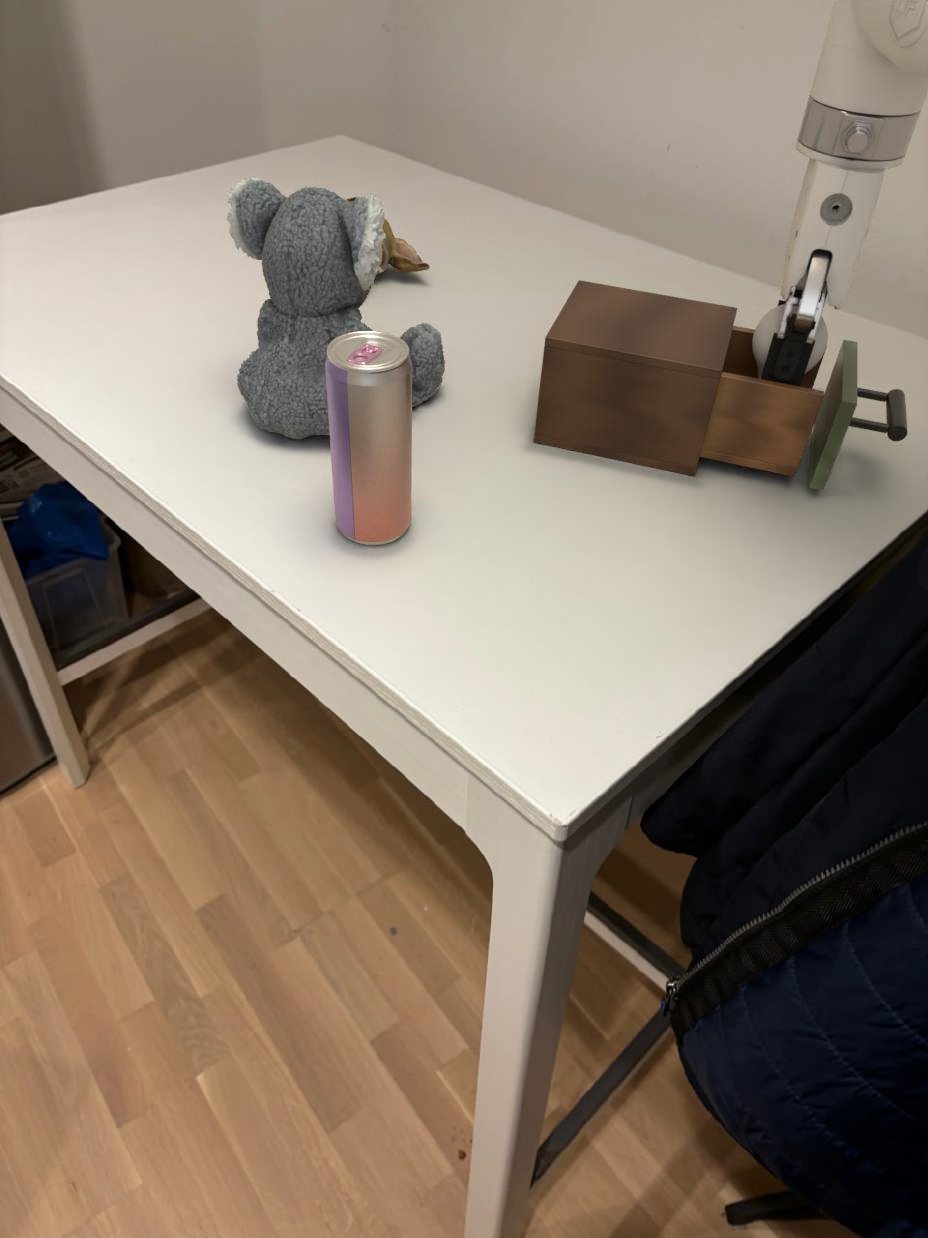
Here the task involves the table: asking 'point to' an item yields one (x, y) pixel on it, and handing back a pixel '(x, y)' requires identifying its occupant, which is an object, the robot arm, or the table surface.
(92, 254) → the table surface
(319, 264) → the koala plush
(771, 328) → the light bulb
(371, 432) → the beverage can
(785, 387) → the drawer
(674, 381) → the cabinet
